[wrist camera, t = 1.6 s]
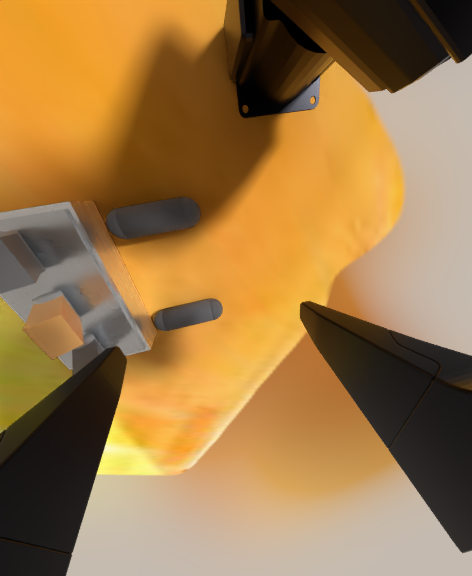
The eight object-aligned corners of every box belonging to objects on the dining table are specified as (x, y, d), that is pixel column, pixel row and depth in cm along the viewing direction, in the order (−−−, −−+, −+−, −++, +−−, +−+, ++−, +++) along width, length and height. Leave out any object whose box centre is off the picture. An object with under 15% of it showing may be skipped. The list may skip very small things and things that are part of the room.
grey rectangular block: (18, 229, 12) (-5, 232, 8) (46, 268, 13) (38, 286, 9) (-18, 235, 11) (-62, 243, 7) (16, 276, 12) (-7, 300, 8)
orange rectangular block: (61, 288, 14) (58, 312, 10) (81, 316, 15) (85, 346, 11) (33, 297, 13) (19, 326, 9) (57, 326, 14) (54, 362, 11)
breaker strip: (93, 200, 14) (66, 201, 11) (156, 330, 21) (150, 351, 18) (-16, 218, 13) (-74, 224, 10) (86, 347, 20) (67, 371, 17)
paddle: (92, 330, 16) (99, 363, 12) (107, 352, 17) (118, 387, 14) (70, 341, 15) (70, 379, 11) (88, 362, 16) (94, 402, 13)
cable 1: (196, 194, 15) (196, 194, 13) (203, 223, 16) (203, 227, 14) (108, 209, 15) (93, 211, 12) (122, 238, 16) (110, 244, 14)
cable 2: (219, 292, 20) (221, 303, 18) (223, 309, 21) (225, 321, 19) (153, 307, 19) (148, 320, 17) (161, 323, 20) (157, 338, 18)
